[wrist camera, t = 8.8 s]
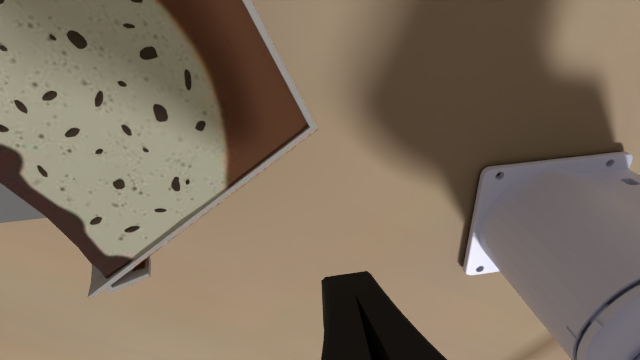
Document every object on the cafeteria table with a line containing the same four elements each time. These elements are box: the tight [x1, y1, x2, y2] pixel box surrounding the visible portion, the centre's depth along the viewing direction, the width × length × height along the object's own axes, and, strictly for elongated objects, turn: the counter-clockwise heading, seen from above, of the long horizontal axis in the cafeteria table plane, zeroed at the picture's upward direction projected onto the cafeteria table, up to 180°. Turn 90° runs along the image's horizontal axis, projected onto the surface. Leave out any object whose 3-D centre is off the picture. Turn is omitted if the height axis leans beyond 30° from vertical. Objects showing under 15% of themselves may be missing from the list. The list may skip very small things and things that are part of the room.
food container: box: [0, 0, 318, 298], centre depth 15 cm, size 12×6×10 cm
